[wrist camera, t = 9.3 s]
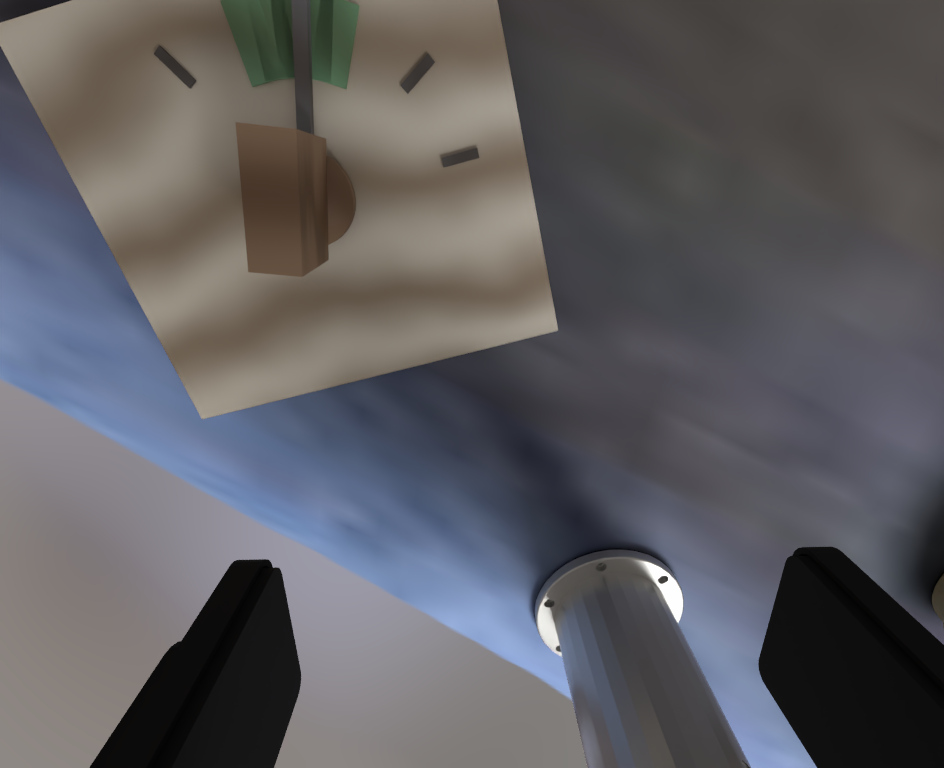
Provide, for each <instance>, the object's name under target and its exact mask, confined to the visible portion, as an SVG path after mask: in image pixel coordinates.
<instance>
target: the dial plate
mask: <svg viewBox="0 0 944 768" xmlns="http://www.w3.org/2000/svg"><path fill="white" fill-rule="evenodd" d="M310 12H311V47H312V82H313V116H314V135H316V136H319V137H323V138H326V149H327V155H328V156H330V157H332V158H333V159H334V160H335V161H337V162H338V163H339V164H340V165H341V166H342V168H343V169H344V170H345V172H346V173H347V175H348V176H349V178H350V180H351V182H352V185H353V188H354V191H355V197H356V211H355V216H354V219H353V222H352V224H351V226H350V228H349V229H348V231H347V232H346V233H345V234H344V235H343V236H342V237H341V238H340V239H338V240H337V241H335V242H333V243H331V244H329V245H328V249H329V260H328V261H326V262H325V263H323V264H322V265H320V266H319V267H317V268H316V269H314V270H312V271H311V272H309V273H308V274H306V275H305V276H303V277H297V276H286V275H275V274H263V273H252V272H248V263H247V251H246V239H245V228H244V216H243V204H242V193H241V181H240V169H239V158H238V146H237V134H236V122H238V123H247V124H256V125H265V126H274V127H283V128H292V129H297V125H296V101H295V77H294V53H293V29H292V5H291V0H71V1H68V2H65V3H62V4H58V5H55V6H52V7H49V8H46V9H42V10H39V11H36V12H33V13H30V14H27V15H23V16H20V17H17V18H14V19H11V20H7V21H4V22H1V23H0V46H1V48H2V50H3V52H4V54H5V55H6V57H7V59H8V61H9V63H10V65H11V66H12V68H13V70H14V72H15V74H16V76H17V78H18V79H19V81H20V83H21V85H22V87H23V89H24V91H25V92H26V94H27V96H28V98H29V100H30V102H31V104H32V105H33V107H34V109H35V111H36V113H37V115H38V116H39V118H40V120H41V122H42V124H43V126H44V128H45V129H46V131H47V133H48V135H49V137H50V139H51V141H52V142H53V144H54V146H55V148H56V150H57V152H58V153H59V155H60V157H61V159H62V161H63V163H64V165H65V166H66V168H67V170H68V172H69V174H70V176H71V178H72V179H73V181H74V183H75V185H76V187H77V189H78V190H79V192H80V194H81V196H82V198H83V200H84V202H85V203H86V205H87V207H88V209H89V211H90V213H91V215H92V216H93V218H94V220H95V222H96V224H97V226H98V228H99V229H100V231H101V233H102V235H103V237H104V239H105V240H106V242H107V244H108V246H109V248H110V250H111V252H112V253H113V255H114V257H115V259H116V261H117V263H118V265H119V266H120V268H121V270H122V272H123V274H124V276H125V277H126V279H127V281H128V283H129V285H130V287H131V289H132V290H133V292H134V294H135V296H136V298H137V300H138V302H139V303H140V305H141V307H142V309H143V311H144V313H145V315H146V316H147V318H148V320H149V322H150V324H151V326H152V327H153V329H154V331H155V333H156V335H157V337H158V339H159V340H160V342H161V344H162V346H163V348H164V350H165V352H166V353H167V355H168V357H169V359H170V361H171V363H172V364H173V366H174V368H175V370H176V372H177V374H178V376H179V377H180V379H181V381H182V383H183V385H184V387H185V389H186V390H187V392H188V394H189V396H190V398H191V400H192V401H193V403H194V405H195V407H196V409H197V411H198V413H199V414H200V416H201V418H202V419H206V418H210V417H214V416H218V415H222V414H226V413H230V412H234V411H238V410H242V409H246V408H250V407H254V406H258V405H262V404H266V403H270V402H274V401H278V400H282V399H286V398H290V397H294V396H298V395H302V394H306V393H310V392H314V391H318V390H322V389H326V388H330V387H334V386H338V385H342V384H346V383H350V382H354V381H358V380H362V379H366V378H370V377H374V376H378V375H382V374H386V373H390V372H394V371H398V370H402V369H406V368H410V367H414V366H418V365H423V364H427V363H431V362H435V361H439V360H443V359H447V358H451V357H455V356H459V355H463V354H467V353H471V352H475V351H479V350H483V349H487V348H491V347H495V346H499V345H503V344H507V343H511V342H515V341H519V340H523V339H527V338H531V337H535V336H539V335H543V334H547V333H551V332H555V331H558V327H557V321H556V316H555V310H554V305H553V300H552V294H551V289H550V283H549V278H548V272H547V267H546V262H545V256H544V251H543V245H542V240H541V234H540V229H539V224H538V218H537V213H536V207H535V202H534V197H533V191H532V186H531V180H530V175H529V169H528V164H527V159H526V153H525V148H524V142H523V137H522V131H521V126H520V121H519V115H518V110H517V104H516V99H515V93H514V88H513V83H512V77H511V72H510V66H509V61H508V56H507V50H506V45H505V39H504V34H503V28H502V23H501V18H500V12H499V7H498V1H497V0H310Z"/></svg>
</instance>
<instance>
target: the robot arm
mask: <svg viewBox="0 0 944 768" xmlns="http://www.w3.org/2000/svg"><path fill="white" fill-rule="evenodd" d="M683 603H684V598H683V594H682V590H681V587H680V585H679V583H678V581H677V580H676V578H675V576H674V575H673V573H672V572H671V571H670V569H669V568H668V567H667V566H666V565H664V564H663V563H662V562H661V561H659V560H657V559H656V558H654V557H652V556H650V555H647V554H644V553H640V552H637V551H630V550H605V551H600V552H594V553H591V554H588V555H585V556H582V557H579V558H577V559H575V560H573V561H571V562H569V563H567V564H566V565H564V566H563V567H561V568H560V569H559V570H557V571H556V572H555V573H554V574H553V575H552V576H551V577H550V578H549V579H548V580H547V581H546V582H545V584H544V585H543V587H542V588H541V590H540V592H539V594H538V597H537V600H536V604H535V619H536V625H537V629H538V632H539V635H540V637H541V638H542V640H543V642H544V643H545V644H546V645H547V646H548V647H549V648H550V649H551V650H552V651H553V652H555V653H556V654H558V655H559V656H561V657H562V658H563V662H564V667H565V671H566V676H567V680H568V684H569V689H570V693H571V697H572V702H573V706H574V710H575V714H576V719H577V723H578V728H579V732H580V737H581V741H582V745H583V750H584V754H585V758H586V763H587V767H588V768H751V766H750V764H749V763H748V761H747V759H746V757H745V755H744V753H743V751H742V749H741V747H740V745H739V743H738V741H737V739H736V737H735V735H734V733H733V731H732V729H731V727H730V725H729V723H728V721H727V719H726V717H725V715H724V713H723V711H722V709H721V707H720V705H719V703H718V701H717V699H716V698H715V696H714V694H713V692H712V690H711V688H710V686H709V684H708V682H707V680H706V678H705V676H704V674H703V672H702V670H701V668H700V666H699V664H698V662H697V660H696V658H695V656H694V654H693V652H692V650H691V648H690V646H689V644H688V642H687V640H686V638H685V636H684V634H683V632H682V631H681V629H680V627H679V625H678V622H679V621H680V618H681V615H682V612H683ZM759 671H760V675H761V677H762V680H763V682H764V684H765V685H766V687H767V689H768V690H769V692H770V693H771V695H772V696H773V698H774V700H775V701H776V703H777V704H778V706H779V708H780V709H781V711H782V712H783V714H784V716H785V717H786V719H787V720H788V722H789V723H790V725H791V727H792V728H793V730H794V731H795V733H796V735H797V736H798V738H799V739H800V741H801V743H802V744H803V746H804V747H805V749H806V751H807V752H808V754H809V755H810V757H811V758H812V760H813V762H814V763H815V765H816V766H817V768H944V645H943V644H942V643H941V642H940V641H939V640H938V639H936V638H935V637H934V636H933V635H932V634H931V633H930V632H929V631H928V630H927V629H926V628H924V627H923V626H922V625H921V624H920V623H919V622H918V621H917V620H916V619H915V618H914V617H912V616H911V615H910V614H909V613H908V612H907V611H906V610H905V609H904V608H903V607H902V606H900V605H899V604H898V603H897V602H896V601H895V600H894V599H893V598H892V597H891V596H890V595H888V594H887V593H886V592H885V591H884V590H883V589H882V588H881V587H880V586H879V585H877V584H876V583H875V582H874V581H873V580H872V579H871V578H870V577H869V576H868V575H867V574H865V573H864V572H863V571H862V570H861V569H860V568H859V567H858V566H857V565H856V564H855V563H853V562H852V561H851V560H850V559H849V558H848V557H847V556H846V555H845V554H844V553H843V552H841V551H840V550H838V549H837V548H834V547H802V548H798V549H797V550H795V552H794V554H793V556H790V557H788V558H787V560H786V562H785V566H784V570H783V573H782V577H781V581H780V584H779V588H778V592H777V595H776V599H775V603H774V606H773V610H772V613H771V617H770V621H769V624H768V628H767V632H766V635H765V639H764V643H763V646H762V650H761V654H760V657H759ZM300 684H301V671H300V665H299V661H298V656H297V650H296V645H295V639H294V635H293V629H292V624H291V619H290V614H289V608H288V603H287V598H286V593H285V588H284V582H283V577H282V573H281V570H280V569H279V568H273V567H272V564H271V562H270V561H269V560H236V561H234V562H233V563H232V564H231V565H230V567H229V569H228V570H227V571H226V573H225V574H224V576H223V578H222V579H221V581H220V582H219V584H218V585H217V587H216V588H215V590H214V592H213V593H212V595H211V596H210V598H209V599H208V601H207V602H206V604H205V606H204V607H203V609H202V610H201V612H200V613H199V615H198V616H197V618H196V619H195V621H194V622H193V624H192V626H191V627H190V629H189V630H188V632H187V634H186V635H185V636H184V638H183V640H182V641H181V642H177V643H176V644H174V645H173V646H171V648H170V649H169V650H168V651H167V652H166V654H165V655H164V656H163V658H162V659H161V661H160V662H159V664H158V665H157V667H156V668H155V670H154V671H153V673H152V674H151V676H150V677H149V679H148V680H147V682H146V683H145V685H144V686H143V688H142V689H141V691H140V692H139V694H138V695H137V697H136V698H135V700H134V701H133V703H132V704H131V706H130V707H129V709H128V710H127V712H126V713H125V715H124V716H123V718H122V719H121V721H120V723H119V724H118V725H117V727H116V729H115V730H114V732H113V733H112V734H111V736H110V737H109V739H108V741H107V742H106V744H105V745H104V747H103V748H102V750H101V751H100V753H99V754H98V756H97V757H96V759H95V760H94V762H93V763H92V765H91V766H90V768H274V765H275V763H276V760H277V757H278V754H279V751H280V748H281V745H282V742H283V739H284V736H285V733H286V730H287V727H288V724H289V721H290V718H291V715H292V712H293V709H294V706H295V703H296V700H297V697H298V694H299V690H300Z"/></svg>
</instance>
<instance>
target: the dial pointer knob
mask: <svg viewBox="0 0 944 768" xmlns="http://www.w3.org/2000/svg"><path fill="white" fill-rule="evenodd" d="M291 5H292V29H293V53H294V77H295V101H296V125H297V129H292V128H283V127H274V126H265V125H256V124H247V123H238V122H236V134H237V146H238V158H239V169H240V181H241V193H242V204H243V216H244V228H245V239H246V251H247V263H248V272H252V273H263V274H275V275H286V276H297V277H303V276H305V275H306V274H308V273H309V272H311V271H312V270H314V269H316V268H317V267H319V266H320V265H322V264H323V263H325V262H326V261H328V260H329V249H328V245H329V244H331V243H333V242H335V241H337V240H338V239H340V238H341V237H342V236H343V235H344V234H345V233H346V232H347V231H348V229H349V228H350V226H351V224H352V222H353V219H354V216H355V211H356V197H355V191H354V188H353V185H352V182H351V180H350V178H349V176H348V175H347V173H346V172H345V170H344V169H343V168H342V166H341V165H340V164H339V163H338V162H337V161H335V160H334V159H333V158H332V157H330V156H328V155H327V149H326V138H323V137H319V136H316V135H314V116H313V82H312V47H311V12H310V0H291Z"/></svg>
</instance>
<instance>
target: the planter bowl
mask: <svg viewBox="0 0 944 768" xmlns="http://www.w3.org/2000/svg"><path fill="white" fill-rule="evenodd" d="M932 605H933V608H934V611H935V612H936V614H937V615H938V616H939V618H940V619H941V620H942V621H943V626H944V574H943V575H942V576H941V578H940V579H939V581H938V582H937V584H936V586H935V588H934V591H933V594H932Z"/></svg>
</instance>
